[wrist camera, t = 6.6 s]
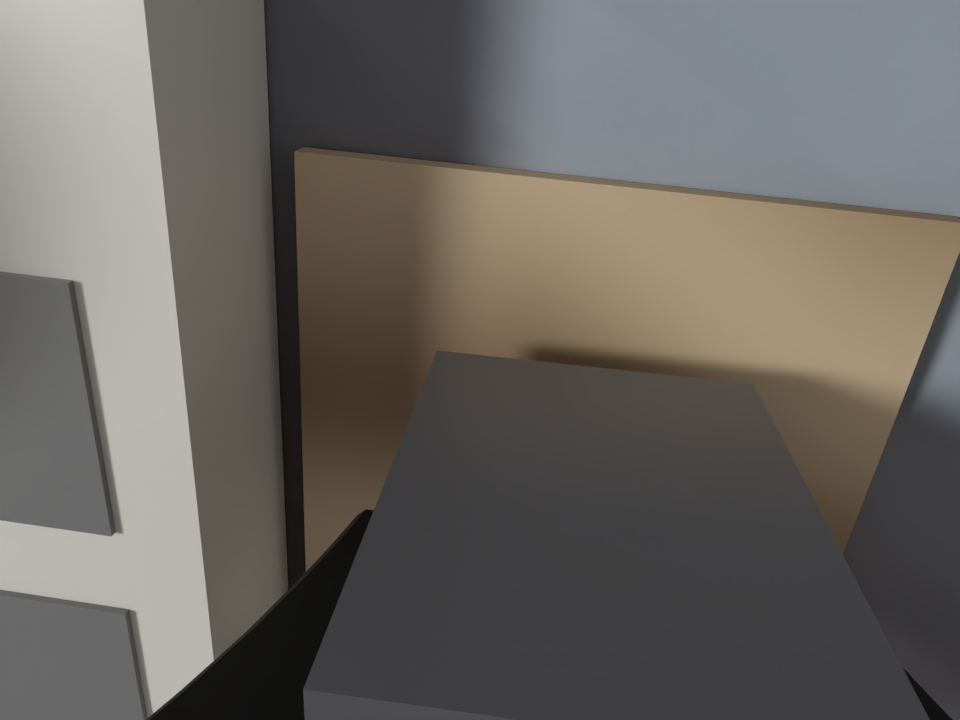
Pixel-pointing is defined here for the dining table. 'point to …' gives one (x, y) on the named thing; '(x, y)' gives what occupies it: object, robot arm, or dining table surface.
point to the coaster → (600, 306)
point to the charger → (598, 563)
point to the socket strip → (134, 351)
